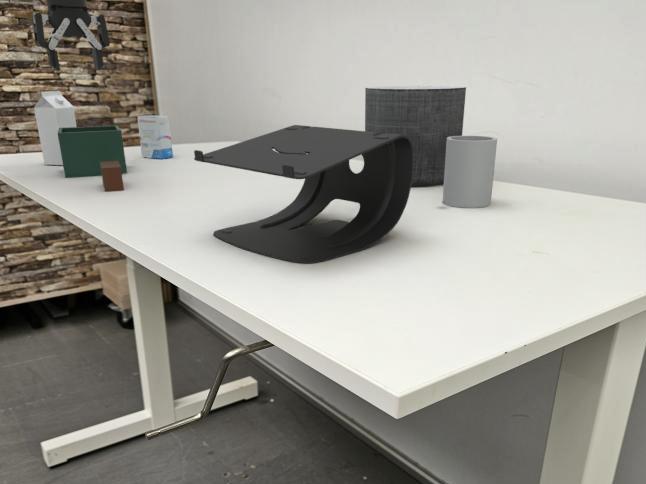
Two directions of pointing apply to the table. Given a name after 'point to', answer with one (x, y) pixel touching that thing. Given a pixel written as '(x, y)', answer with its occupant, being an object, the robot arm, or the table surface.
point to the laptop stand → (322, 189)
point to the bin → (90, 149)
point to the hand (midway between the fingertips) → (77, 70)
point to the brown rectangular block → (111, 176)
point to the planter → (418, 122)
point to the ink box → (155, 136)
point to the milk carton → (53, 124)
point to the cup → (469, 171)
